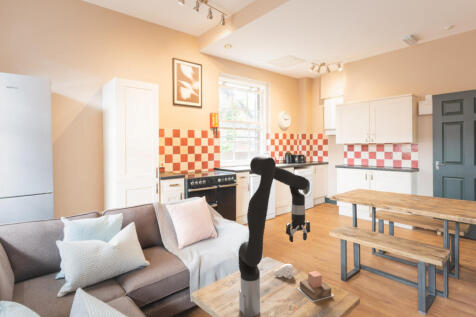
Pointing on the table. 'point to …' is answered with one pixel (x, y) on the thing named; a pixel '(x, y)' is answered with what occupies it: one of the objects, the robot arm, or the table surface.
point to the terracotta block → (314, 279)
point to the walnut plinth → (315, 290)
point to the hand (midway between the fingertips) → (298, 240)
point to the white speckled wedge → (284, 271)
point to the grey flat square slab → (311, 298)
